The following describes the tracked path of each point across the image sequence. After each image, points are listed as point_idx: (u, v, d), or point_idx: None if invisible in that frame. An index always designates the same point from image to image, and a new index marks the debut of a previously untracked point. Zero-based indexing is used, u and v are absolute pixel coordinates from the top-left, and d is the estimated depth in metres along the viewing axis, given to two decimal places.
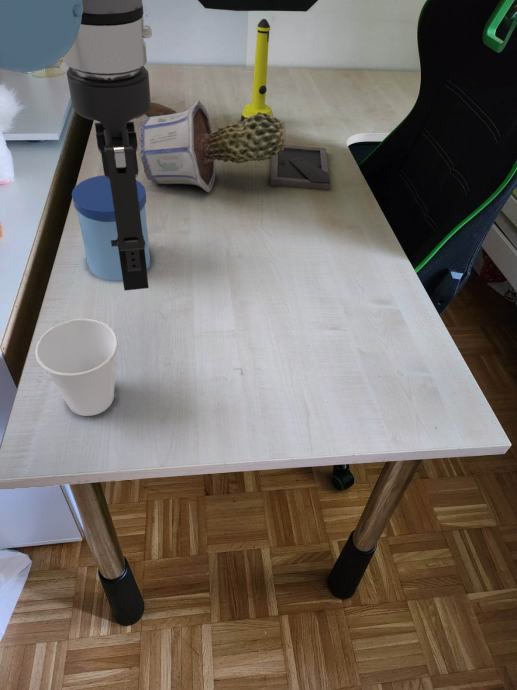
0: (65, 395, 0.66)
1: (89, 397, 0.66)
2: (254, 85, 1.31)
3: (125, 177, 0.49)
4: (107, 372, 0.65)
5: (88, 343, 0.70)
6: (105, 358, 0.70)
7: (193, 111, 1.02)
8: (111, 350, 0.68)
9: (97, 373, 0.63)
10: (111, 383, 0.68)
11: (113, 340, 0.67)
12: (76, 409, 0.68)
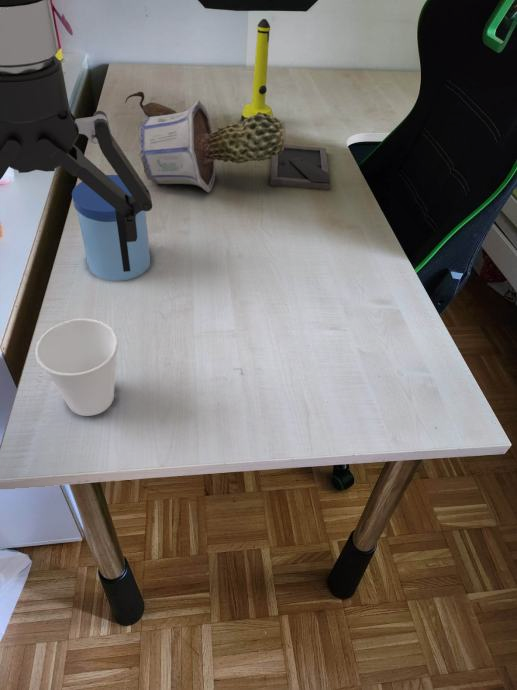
0: (65, 395, 0.66)
1: (89, 397, 0.66)
2: (254, 85, 1.31)
3: (114, 143, 0.48)
4: (107, 372, 0.65)
5: (88, 343, 0.70)
6: (105, 358, 0.70)
7: (193, 111, 1.02)
8: (111, 350, 0.68)
9: (97, 373, 0.63)
10: (111, 383, 0.68)
11: (113, 340, 0.67)
12: (76, 409, 0.68)
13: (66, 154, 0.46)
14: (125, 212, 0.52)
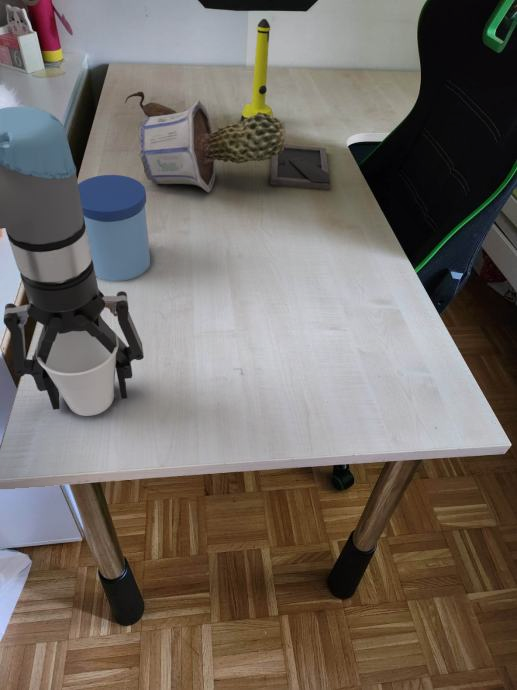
0: (65, 395, 0.66)
1: (89, 397, 0.66)
2: (254, 85, 1.31)
3: (128, 313, 0.63)
4: (107, 372, 0.65)
5: (88, 343, 0.70)
6: (105, 358, 0.70)
7: (193, 111, 1.02)
8: None
9: (97, 373, 0.63)
10: (111, 383, 0.68)
11: None
12: (76, 408, 0.68)
13: (93, 324, 0.60)
14: (123, 361, 0.66)
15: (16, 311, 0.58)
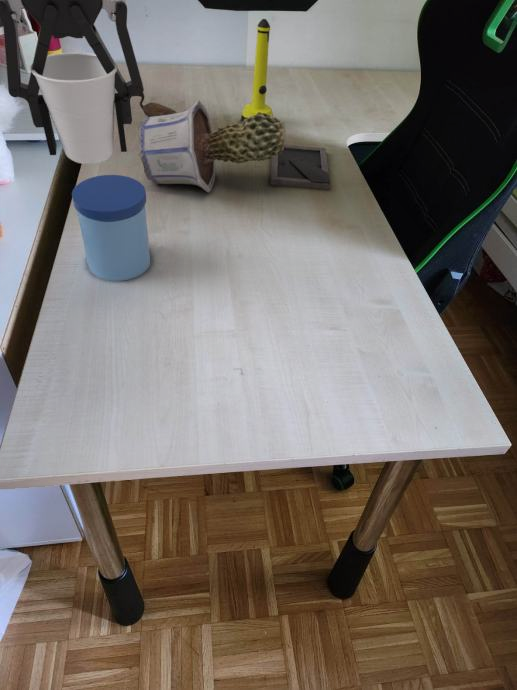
0: (62, 126, 0.63)
1: (87, 128, 0.63)
2: (254, 85, 1.31)
3: None
4: (105, 97, 0.62)
5: None
6: None
7: (193, 111, 1.02)
8: None
9: (94, 88, 0.60)
10: (110, 121, 0.65)
11: None
12: (74, 150, 0.65)
13: (90, 25, 0.57)
14: (122, 93, 0.64)
15: None
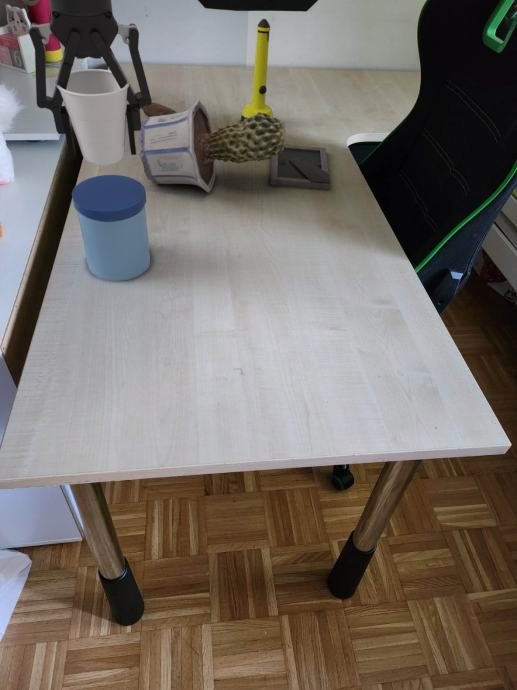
0: (81, 133, 0.73)
1: (103, 134, 0.73)
2: (254, 85, 1.31)
3: None
4: (119, 107, 0.72)
5: None
6: None
7: (193, 111, 1.02)
8: None
9: (111, 100, 0.70)
10: (122, 128, 0.75)
11: None
12: (91, 153, 0.76)
13: (107, 48, 0.68)
14: (133, 104, 0.74)
15: (40, 26, 0.65)
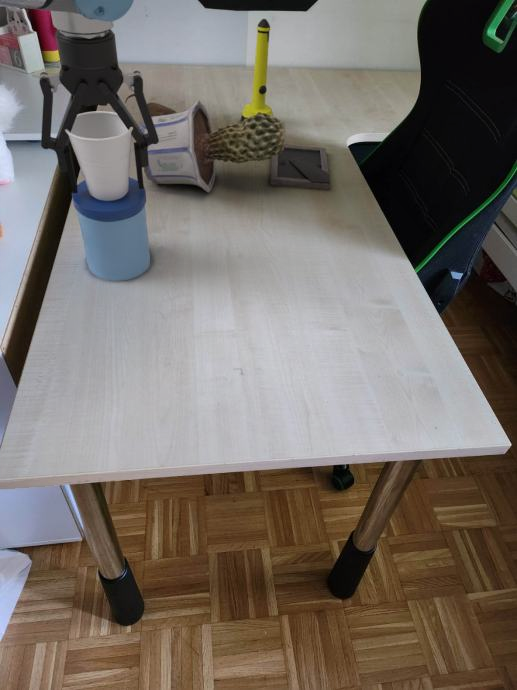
0: (88, 172, 0.78)
1: (108, 174, 0.78)
2: (254, 85, 1.31)
3: None
4: (124, 149, 0.76)
5: (107, 138, 0.81)
6: None
7: (193, 111, 1.02)
8: None
9: (116, 143, 0.74)
10: (127, 167, 0.80)
11: None
12: (97, 190, 0.80)
13: (114, 95, 0.72)
14: (141, 144, 0.78)
15: (50, 76, 0.69)
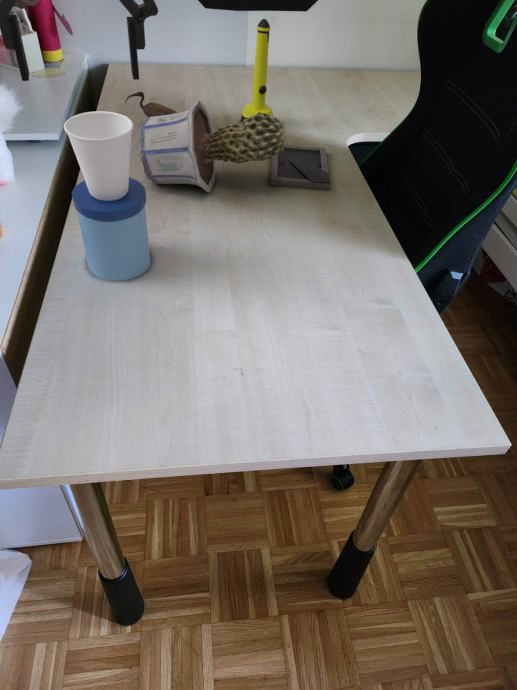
0: (88, 172, 0.78)
1: (108, 174, 0.78)
2: (254, 85, 1.31)
3: None
4: (124, 149, 0.76)
5: (107, 138, 0.81)
6: None
7: (193, 111, 1.02)
8: None
9: (116, 143, 0.74)
10: (127, 167, 0.80)
11: (128, 128, 0.79)
12: (97, 190, 0.80)
13: None
14: (135, 15, 0.62)
15: None
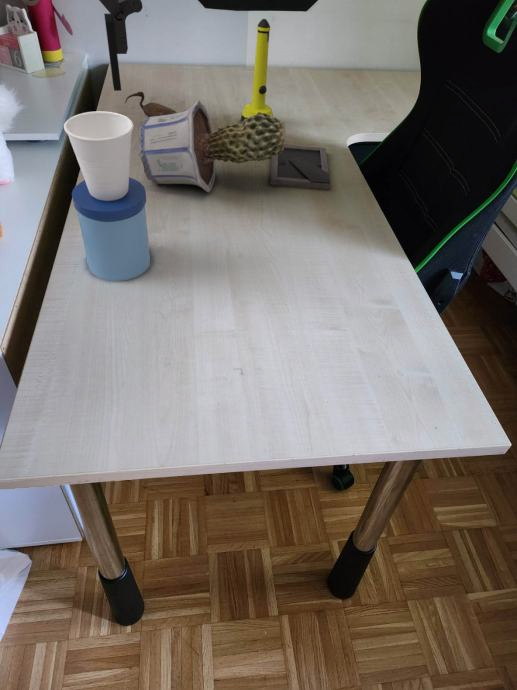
0: (88, 172, 0.78)
1: (108, 174, 0.78)
2: (254, 85, 1.31)
3: None
4: (124, 149, 0.76)
5: (107, 138, 0.81)
6: None
7: (193, 111, 1.02)
8: None
9: (116, 143, 0.74)
10: (127, 167, 0.80)
11: (128, 128, 0.79)
12: (97, 190, 0.80)
13: None
14: (114, 11, 0.50)
15: None
